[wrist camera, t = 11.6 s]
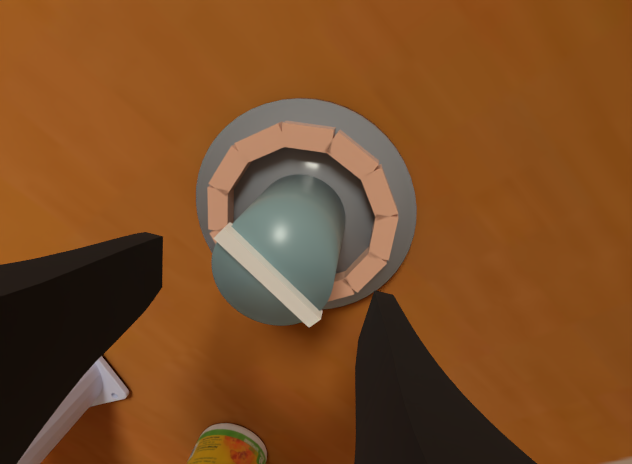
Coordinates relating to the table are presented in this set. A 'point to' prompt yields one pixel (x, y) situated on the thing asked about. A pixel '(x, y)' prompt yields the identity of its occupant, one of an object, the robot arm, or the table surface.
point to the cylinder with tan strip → (282, 252)
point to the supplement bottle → (228, 446)
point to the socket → (325, 164)
